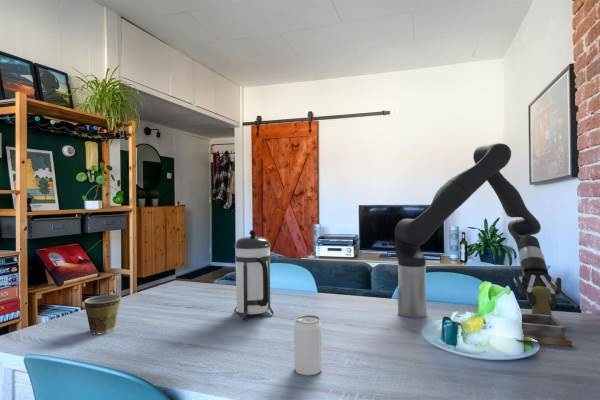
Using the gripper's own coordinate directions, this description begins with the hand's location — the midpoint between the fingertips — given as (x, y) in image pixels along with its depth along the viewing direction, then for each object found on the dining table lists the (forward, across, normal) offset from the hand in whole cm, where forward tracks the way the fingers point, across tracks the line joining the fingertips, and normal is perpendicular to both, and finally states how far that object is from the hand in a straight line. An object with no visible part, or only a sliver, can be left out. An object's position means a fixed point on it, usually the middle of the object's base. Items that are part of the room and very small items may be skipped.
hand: (543, 305), depth 114 cm
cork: (+3, 0, +5) cm, 6 cm away
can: (+43, -61, -35) cm, 82 cm away
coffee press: (+20, -92, -12) cm, 95 cm away
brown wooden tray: (+13, -5, -6) cm, 15 cm away
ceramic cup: (+40, -132, -32) cm, 142 cm away
